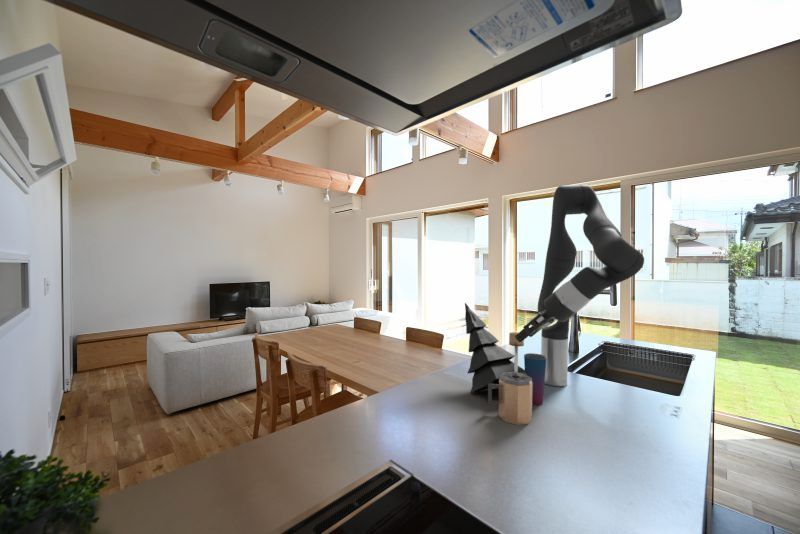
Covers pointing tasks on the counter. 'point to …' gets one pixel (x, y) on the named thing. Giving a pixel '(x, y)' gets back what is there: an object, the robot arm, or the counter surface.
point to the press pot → (513, 398)
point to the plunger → (516, 343)
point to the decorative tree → (485, 355)
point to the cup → (536, 375)
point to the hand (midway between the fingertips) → (523, 336)
